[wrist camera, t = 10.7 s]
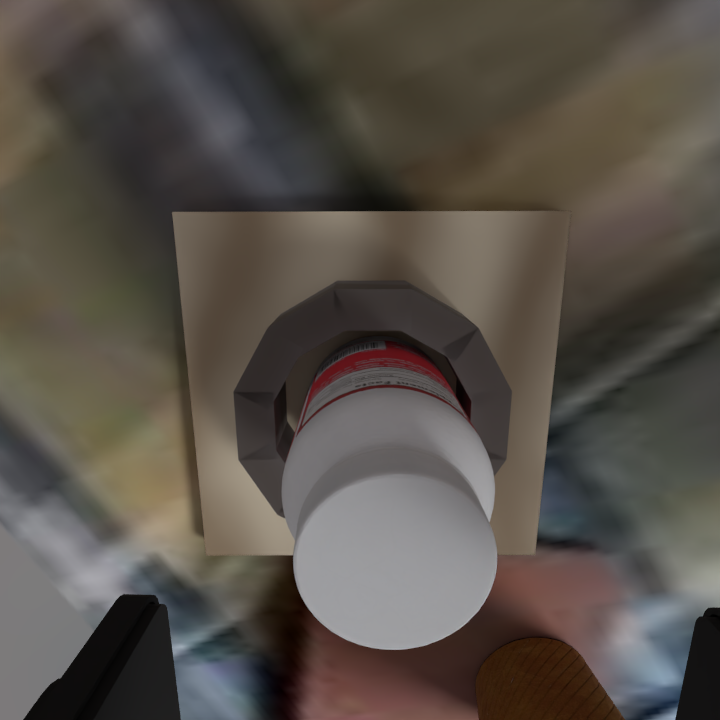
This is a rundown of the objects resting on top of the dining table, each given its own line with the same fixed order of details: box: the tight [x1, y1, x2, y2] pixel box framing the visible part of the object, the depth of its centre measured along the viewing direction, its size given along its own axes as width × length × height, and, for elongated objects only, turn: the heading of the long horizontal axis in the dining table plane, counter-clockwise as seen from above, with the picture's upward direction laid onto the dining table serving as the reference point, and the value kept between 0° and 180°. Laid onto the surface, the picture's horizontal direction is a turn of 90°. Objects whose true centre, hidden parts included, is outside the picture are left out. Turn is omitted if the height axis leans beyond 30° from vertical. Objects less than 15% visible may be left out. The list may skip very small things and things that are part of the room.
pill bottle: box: [282, 336, 497, 650], centre depth 16 cm, size 6×6×11 cm
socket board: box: [172, 211, 571, 555], centre depth 21 cm, size 16×16×4 cm
